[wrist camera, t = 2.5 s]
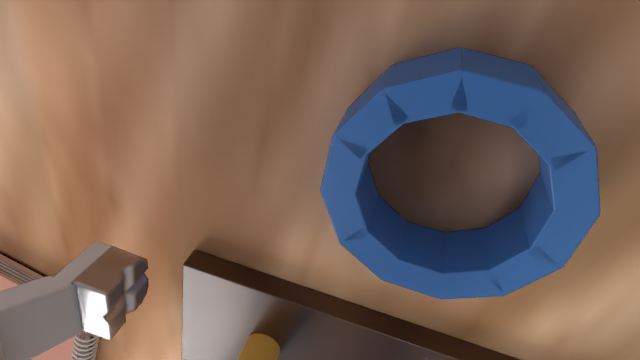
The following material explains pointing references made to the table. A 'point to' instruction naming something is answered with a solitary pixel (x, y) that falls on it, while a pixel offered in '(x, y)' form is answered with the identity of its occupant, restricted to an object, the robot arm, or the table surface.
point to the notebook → (68, 355)
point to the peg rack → (295, 322)
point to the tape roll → (478, 244)
